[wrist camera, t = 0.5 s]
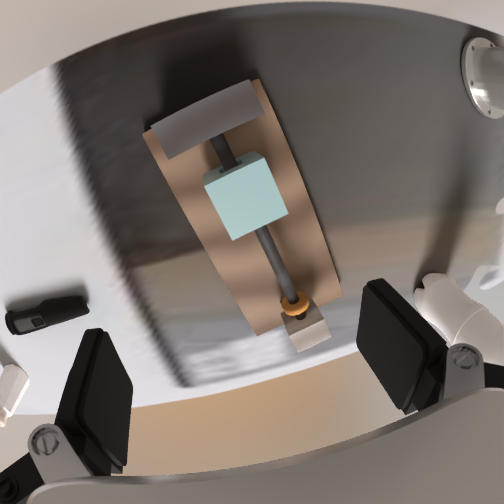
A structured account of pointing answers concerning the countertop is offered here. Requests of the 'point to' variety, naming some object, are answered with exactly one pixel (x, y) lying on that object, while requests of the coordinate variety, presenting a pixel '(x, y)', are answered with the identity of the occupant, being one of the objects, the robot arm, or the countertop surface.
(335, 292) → the linear slide rail
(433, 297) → the water bottle
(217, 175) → the sleeve
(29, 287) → the countertop surface
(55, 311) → the electric trimmer
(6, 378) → the pepper shaker
